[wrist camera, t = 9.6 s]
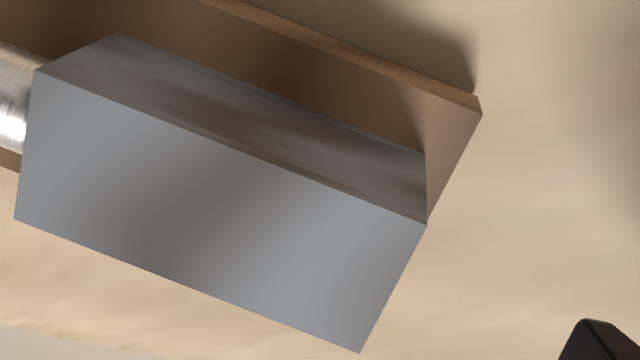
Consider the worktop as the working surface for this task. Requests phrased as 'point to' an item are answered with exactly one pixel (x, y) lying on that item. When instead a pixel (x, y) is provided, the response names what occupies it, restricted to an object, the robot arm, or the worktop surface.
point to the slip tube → (15, 93)
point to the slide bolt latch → (233, 153)
